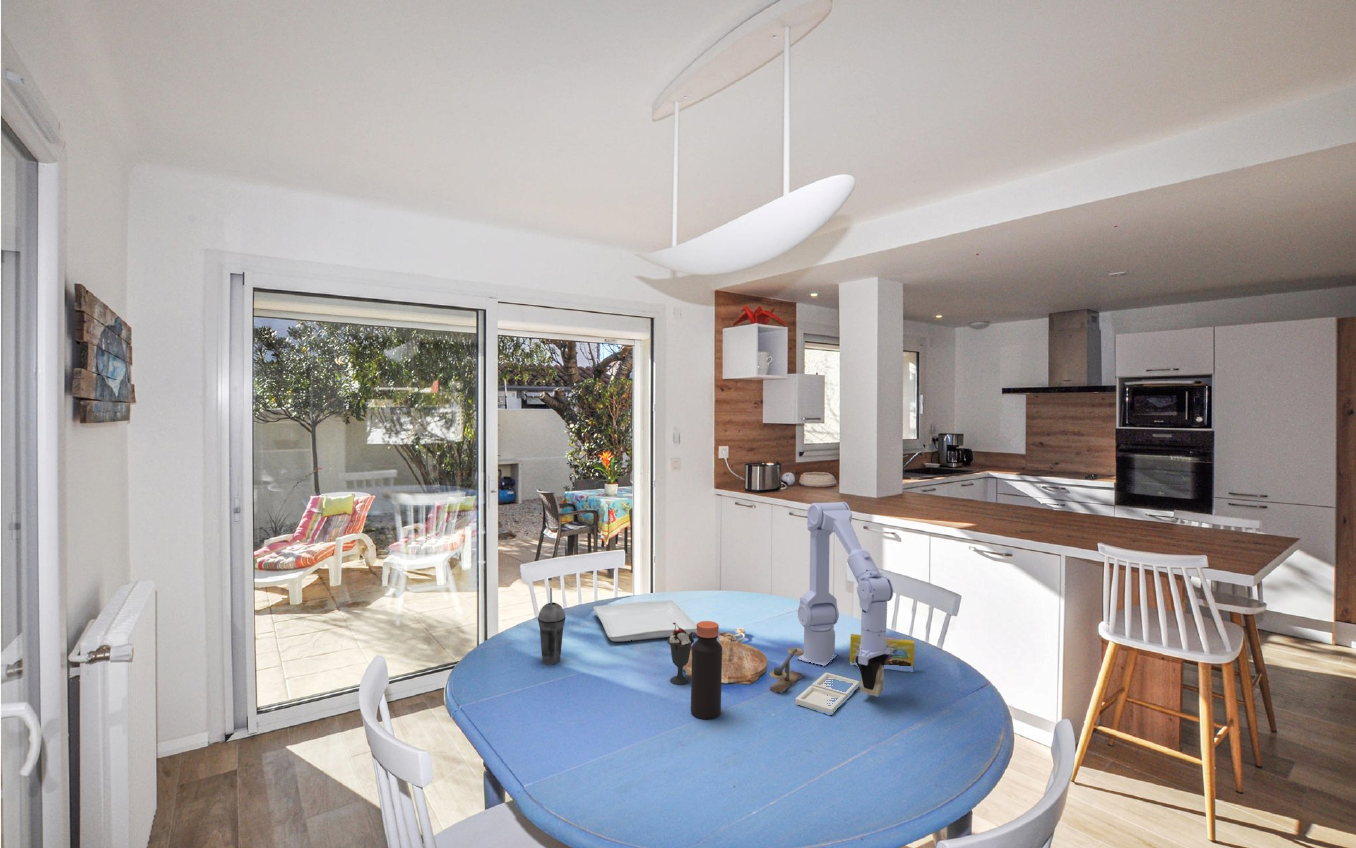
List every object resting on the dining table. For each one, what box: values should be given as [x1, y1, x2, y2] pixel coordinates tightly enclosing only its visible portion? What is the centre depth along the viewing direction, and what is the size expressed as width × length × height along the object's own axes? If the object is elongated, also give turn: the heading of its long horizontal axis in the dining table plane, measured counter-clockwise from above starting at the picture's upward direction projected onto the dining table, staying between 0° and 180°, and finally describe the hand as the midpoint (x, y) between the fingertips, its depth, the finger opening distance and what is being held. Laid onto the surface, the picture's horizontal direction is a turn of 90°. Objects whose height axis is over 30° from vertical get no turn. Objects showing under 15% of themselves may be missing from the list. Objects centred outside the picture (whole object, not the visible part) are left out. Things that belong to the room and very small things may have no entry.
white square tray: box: [811, 672, 861, 698], centre depth 158 cm, size 9×9×2 cm
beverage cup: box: [537, 587, 566, 665], centre depth 171 cm, size 7×7×20 cm
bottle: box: [690, 620, 723, 720], centre depth 145 cm, size 7×7×20 cm
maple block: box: [860, 665, 884, 697], centre depth 153 cm, size 4×4×6 cm
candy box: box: [849, 633, 916, 666], centre depth 171 cm, size 16×2×8 cm, turn 76°
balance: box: [769, 647, 804, 694], centre depth 161 cm, size 14×4×7 cm, turn 145°
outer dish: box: [794, 685, 846, 714], centre depth 150 cm, size 9×9×2 cm
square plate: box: [592, 599, 697, 643], centre depth 199 cm, size 27×27×4 cm
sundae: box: [666, 623, 695, 686], centre depth 161 cm, size 7×7×15 cm
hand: (871, 685), depth 153 cm, fingers closed on maple block, 4 cm apart
